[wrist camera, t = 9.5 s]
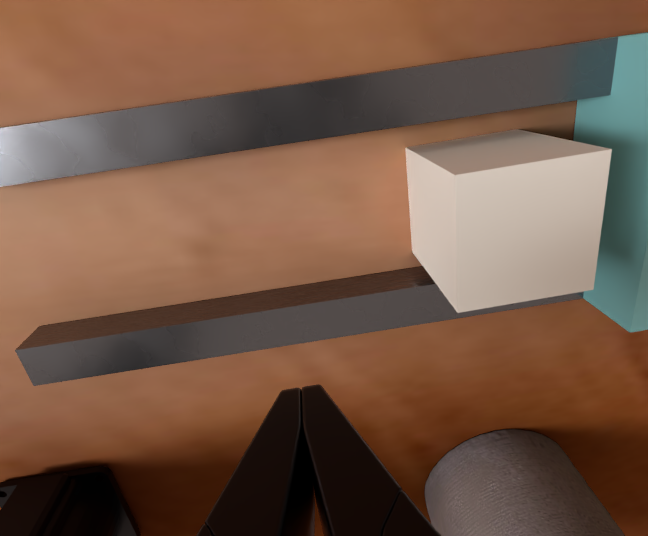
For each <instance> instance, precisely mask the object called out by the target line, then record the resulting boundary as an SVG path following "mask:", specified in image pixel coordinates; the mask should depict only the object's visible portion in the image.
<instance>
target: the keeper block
mask: <svg viewBox="0 0 648 536" xmlns="http://www.w3.org/2000/svg"><path fill="white" fill-rule="evenodd" d="M405 148H406V163H407V178H408V194H409V209H410V224H411V240H412V252H413V253H414V255H415V256H416V257H417V259H418V260H419V262H420V263H421V264H422V266H423V267H424V268H425V270H426V271H427V272H428V274H429V275H430V276H431V278H432V279H433V280H434V282H435V283H436V285H437V286H438V287H439V289H440V290H441V291H442V293H443V294H444V295H445V297H446V298H447V299H448V301H449V302H450V303H451V305H452V306H453V307H454V309H455V310H456V312H457V313H460V312H466V311H472V310H478V309H484V308H490V307H495V306H501V305H507V304H513V303H519V302H525V301H530V300H536V299H542V298H548V297H554V296H560V295H565V294H571V293H577V292H583V291H589V290H593V289H594V281H595V274H596V266H597V259H598V251H599V244H600V236H601V228H602V221H603V213H604V206H605V198H606V190H607V183H608V175H609V168H610V160H611V153H612V149H609V148H604V147H600V146H595V145H590V144H585V143H581V142H576V141H571V140H566V139H562V138H557V137H552V136H548V135H543V134H538V133H533V132H529V131H524V130H519V129H515V130H509V131H502V132H496V133H490V134H484V135H478V136H472V137H466V138H460V139H454V140H448V141H442V142H435V143H429V144H423V145H417V146H411V147H405Z"/></svg>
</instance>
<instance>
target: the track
mask: <svg viewBox="0 0 648 536" xmlns="http://www.w3.org/2000/svg"><path fill="white" fill-rule="evenodd" d="M575 100H577V110H576V119H575V129H574V138H573V141H576V142H581V143H585V144H590V145H595V146H600V147H604V148H609V149H612V153H611V160H610V168H609V175H608V183H607V190H606V198H605V206H604V213H603V221H602V228H601V236H600V244H599V251H598V259H597V266H596V274H595V281H594V289H593V290H589V291H583V292H577V293H571V294H565V295H560V296H554V297H548V298H542V299H536V300H530V301H525V302H519V303H513V304H507V305H501V306H495V307H490V308H484V309H478V310H472V311H466V312H460V313H457V312H456V310H455V309H454V307H453V306H452V305H451V303H450V302H449V301H448V299H447V298H446V297H445V295H444V294H443V293H442V291H441V290H440V289H439V287H438V286H437V285H436V283H435V282H434V280H433V279H432V278H431V276H430V275H429V274H428V272H427V271H426V270H425V268H424V267H423V266H421V267H415V268H408V269H402V270H395V271H389V272H383V273H376V274H370V275H364V276H357V277H351V278H344V279H338V280H332V281H325V282H319V283H313V284H306V285H300V286H293V287H287V288H281V289H274V290H268V291H262V292H255V293H249V294H242V295H236V296H230V297H223V298H217V299H211V300H204V301H198V302H191V303H185V304H179V305H172V306H166V307H160V308H153V309H147V310H141V311H134V312H128V313H121V314H115V315H109V316H102V317H96V318H90V319H83V320H77V321H70V322H64V323H58V324H51V325H45V326H39V327H38V328H37V329H36V330H35V331H34V332H33V333H32V334H31V335H30V336H29V337H28V338H27V339H26V340H25V341H24V342H23V343H22V344H21V345H20V346H19V347H18V348H17V349H16V350H15V351H16V353H17V355H18V357H19V359H20V361H21V363H22V364H23V366H24V368H25V370H26V372H27V374H28V376H29V378H30V380H31V382H32V384H33V385H34V386H36V385H43V384H49V383H55V382H62V381H68V380H74V379H80V378H87V377H93V376H99V375H105V374H112V373H118V372H124V371H130V370H137V369H143V368H149V367H155V366H162V365H168V364H174V363H181V362H187V361H193V360H199V359H206V358H212V357H218V356H224V355H231V354H237V353H243V352H249V351H256V350H262V349H268V348H274V347H281V346H287V345H293V344H300V343H306V342H312V341H318V340H325V339H331V338H337V337H343V336H350V335H356V334H362V333H368V332H375V331H381V330H387V329H394V328H400V327H406V326H412V325H419V324H425V323H431V322H437V321H444V320H450V319H456V318H462V317H469V316H475V315H481V314H487V313H494V312H500V311H506V310H513V309H519V308H525V307H531V306H538V305H544V304H550V303H556V302H563V301H569V300H575V299H581V298H584V299H585V300H586V301H588V302H589V303H590V304H592V305H593V306H594V307H596V308H597V309H599V310H600V311H601V312H603V313H604V314H605V315H607V316H608V317H609V318H611V319H612V320H614V321H615V322H616V323H618V324H619V325H620V326H622V327H623V328H624V329H626V330H627V331H629V332H636V331H642V330H648V32H645V33H638V34H631V35H624V36H617V37H611V38H604V39H597V40H590V41H584V42H577V43H570V44H563V45H556V46H550V47H543V48H536V49H529V50H523V51H516V52H509V53H502V54H495V55H489V56H482V57H475V58H468V59H461V60H455V61H448V62H441V63H434V64H428V65H421V66H414V67H407V68H400V69H394V70H387V71H380V72H373V73H366V74H360V75H353V76H346V77H339V78H333V79H326V80H319V81H312V82H305V83H299V84H292V85H285V86H278V87H272V88H265V89H258V90H251V91H244V92H238V93H231V94H224V95H217V96H210V97H204V98H197V99H190V100H183V101H177V102H170V103H163V104H156V105H149V106H143V107H136V108H129V109H122V110H116V111H109V112H102V113H95V114H88V115H82V116H75V117H68V118H61V119H54V120H48V121H41V122H34V123H27V124H21V125H14V126H7V127H0V187H2V186H9V185H16V184H22V183H29V182H35V181H42V180H49V179H55V178H62V177H69V176H75V175H82V174H89V173H95V172H102V171H109V170H115V169H122V168H129V167H135V166H142V165H149V164H155V163H162V162H169V161H175V160H182V159H189V158H195V157H202V156H209V155H215V154H222V153H229V152H235V151H242V150H249V149H255V148H262V147H269V146H275V145H282V144H289V143H295V142H302V141H309V140H315V139H322V138H328V137H335V136H342V135H348V134H355V133H362V132H368V131H375V130H382V129H388V128H395V127H402V126H408V125H415V124H422V123H428V122H435V121H442V120H448V119H455V118H462V117H468V116H475V115H482V114H488V113H495V112H502V111H508V110H515V109H522V108H528V107H535V106H542V105H548V104H555V103H562V102H568V101H575Z"/></svg>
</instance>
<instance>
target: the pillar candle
mask: <svg viewBox="0 0 648 536" xmlns="http://www.w3.org/2000/svg"><path fill="white" fill-rule="evenodd" d="M425 500H426V506H427V510H428V514H429V517H430V520H431V523H432V526H433V527H434V528H435V529H436V530H437V531H438V532H439V534H440V535H441V536H625V535H624V534H623V532H622V530H621V529H620V528H619V527H618V525H617V524H616V523H615V521H614V520H613V519H612V517H611V516H610V514H609V513H608V511H607V510H606V509H605V507H604V506H603V505H602V503H601V502H600V501H599V499H598V498H597V496H596V495H595V494H594V492H593V491H592V490H591V488H590V487H589V486H588V485H587V483H586V481H585V480H584V478H583V477H582V476H581V474H580V473H579V472H578V470H577V469H576V468H575V467H574V466H573V463H572V462H571V461H570V459H569V458H568V456H567V455H566V454H565V453H564V451H563V450H562V449H561V447H560V446H559V445H558V444H557V443H556V442H554V441H553V440H551V439H550V438H548V437H546V436H544V435H542V434H539V433H536V432H532V431H524V430H520V429H504V430H499V431H493V432H490V433H484V434H481V435H479V436H476V437H474V438H471V439H469V440H467V441H465V442H463V443H461V444H460V445H458V446H457V447H455V448H454V449H452V450H451V451H449V452H448V453H447V454H446V455H445V456H444V457H443V458H442V459H441V460H440V461H439V462H438V463H437V465H436V466H435V467H434V468H433V469H432V471H431V472H430V474H429V477H428V479H427V481H426V484H425Z"/></svg>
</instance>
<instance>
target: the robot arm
mask: <svg viewBox="0 0 648 536" xmlns="http://www.w3.org/2000/svg"><path fill="white" fill-rule="evenodd" d="M314 491H315V497H316V502H317V507H318V512H319V516H320V520H321V525H322V529H323V534H324V536H441V535H440V534H439V532H438V531H437V530H436V529H435V528H434V527H433V526H432V524H431V523H430V522H429V521H428V520H427V519H426V517H425V516H424V515H423V514H422V513H421V511H420V510H419V509H418V508H417V507H416V505H415V504H414V503H413V502H412V500H411V499H410V498H409V496H408V495H407V494H406V493H405V492H404V491H402V488H401V487H400V485H399V484H398V483H397V481H396V480H395V479H394V478H393V476H392V475H391V474H390V473H389V471H388V470H387V469H386V467H385V466H384V465H383V464H382V462H381V461H380V460H379V459H378V457H377V456H376V455H375V453H374V452H373V451H372V450H371V448H370V447H369V446H368V444H367V443H366V442H365V441H364V439H363V438H362V437H361V436H360V434H359V433H358V432H357V430H356V429H355V428H354V427H353V425H352V424H351V423H350V422H349V420H348V419H347V418H346V416H345V415H344V414H343V413H342V411H341V410H340V409H339V408H338V406H337V405H336V404H335V402H334V401H333V400H332V399H331V397H330V396H329V395H328V393H327V392H326V391H325V390H324V388H323V387H322V386H321V385H312V386H306V387H303V388H302V390H301V389H300V388H293V389H286V390H282V391H281V392H280V394H279V396H278V397H277V399H276V401H275V402H274V404H273V406H272V408H271V409H270V411H269V413H268V414H267V416H266V418H265V419H264V421H263V423H262V425H261V426H260V428H259V430H258V431H257V433H256V435H255V437H254V438H253V440H252V442H251V443H250V445H249V447H248V449H247V450H246V452H245V454H244V455H243V457H242V459H241V460H240V462H239V464H238V466H237V467H236V469H235V471H234V472H233V474H232V476H231V478H230V479H229V481H228V483H227V484H226V486H225V488H224V490H223V491H222V493H221V495H220V496H219V498H218V500H217V501H216V503H215V505H214V507H213V508H212V510H211V512H210V513H209V515H208V517H207V519H206V520H205V524H204V525H202V527H201V528H200V530H199V532H198V534H197V535H196V536H314V522H315V497H314ZM0 507H1V508H2V509H1V510H0V536H140V535H141V533H140V531H139V529H138V527H137V525H136V522H135V520H134V518H133V516H132V514H131V512H130V510H129V508H128V506H127V504H126V502H125V500H124V497H123V495H122V493H121V491H120V489H119V487H118V485H117V483H116V481H115V479H114V477H113V475H112V472H111V471H110V469H109V468H107V467H104V466H97V467H91V468H84V469H78V470H72V471H66V472H60V473H54V474H48V475H42V476H36V477H29V478H23V479H17V480H11V481H5V482H1V483H0Z"/></svg>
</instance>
